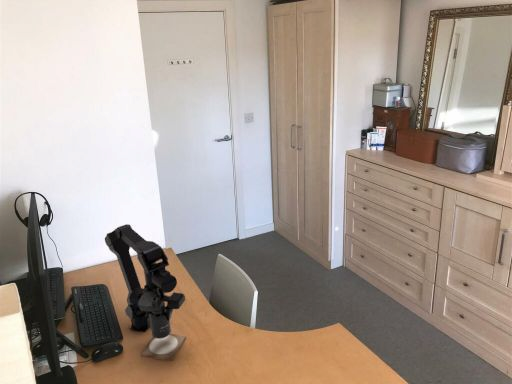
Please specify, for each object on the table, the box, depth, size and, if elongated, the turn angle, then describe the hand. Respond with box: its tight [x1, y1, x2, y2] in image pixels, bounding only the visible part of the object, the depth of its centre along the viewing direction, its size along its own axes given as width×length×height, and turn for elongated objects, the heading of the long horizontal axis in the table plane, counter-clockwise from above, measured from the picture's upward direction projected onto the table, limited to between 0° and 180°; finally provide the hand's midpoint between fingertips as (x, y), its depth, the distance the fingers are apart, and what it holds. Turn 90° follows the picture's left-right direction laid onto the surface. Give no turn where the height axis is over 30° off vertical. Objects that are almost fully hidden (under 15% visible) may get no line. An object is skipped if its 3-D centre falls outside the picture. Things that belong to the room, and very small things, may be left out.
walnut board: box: [140, 333, 187, 362], centre depth 159 cm, size 12×12×1 cm
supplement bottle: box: [149, 301, 172, 339], centre depth 155 cm, size 7×7×12 cm
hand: (159, 318), depth 155 cm, fingers closed on supplement bottle, 7 cm apart
